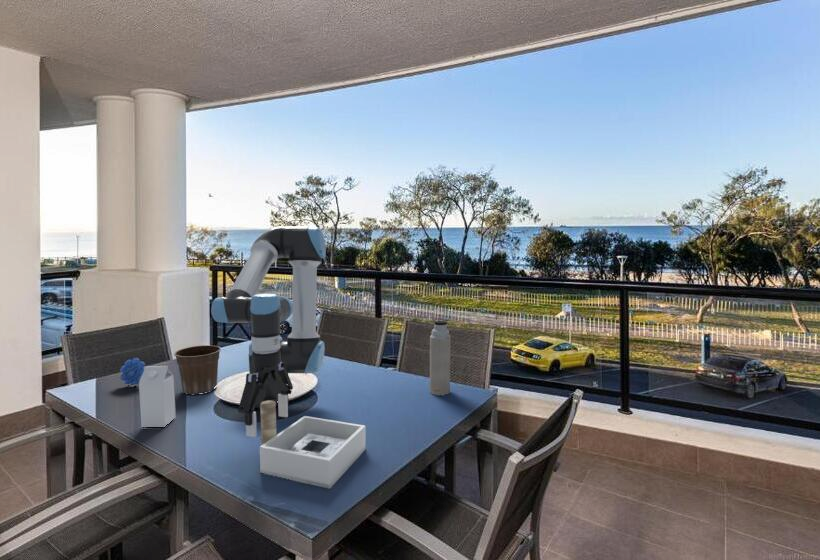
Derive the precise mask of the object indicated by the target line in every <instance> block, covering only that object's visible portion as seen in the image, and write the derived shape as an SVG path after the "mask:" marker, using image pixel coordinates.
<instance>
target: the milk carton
mask: <svg viewBox="0 0 820 560" xmlns="http://www.w3.org/2000/svg"><path fill="white" fill-rule="evenodd" d="M174 377H175V376H174V374H173V373H172V372H171V370H169V366H168V365H153V366H151V365H150V366H149V365H148V366H146V365H145V366H144V372H143V374H142V376H141V379H140V381H139V384H138V386H139V387H138V388H139V389H138V390H139V404H140V405H139V406H140V424H141V428H142V427H165V426H166V425H167V424H169V423H170V422H171V421H172V420H173V419H174V418H175V419H176V400H175V399H176V398H175V395H176V394H175V382H174V381H175V378H174ZM175 419H174V420H175ZM174 420H173V421H174ZM173 421H172V422H173ZM172 422H171V423H172ZM171 423H170V424H171ZM170 424H169V425H170ZM167 426H168V425H167ZM167 426H166V427H167ZM166 427H165V428H166Z"/></svg>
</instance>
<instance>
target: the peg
mask: <svg viewBox="0 0 820 560" xmlns="http://www.w3.org/2000/svg"><path fill="white" fill-rule="evenodd" d="M276 407H277V406H276V402H275V401H272V400H269V401H264V402H262V403H261V404H260V408H259V409H260V430H261V431H260V434H261V435H260V436H261V446H262V445H263V444H265V443H266V442H267V441H269V440H270V439H272V438H273V437H275V436H276V435H277V411H276V409H277V408H276Z"/></svg>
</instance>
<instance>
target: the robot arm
mask: <svg viewBox="0 0 820 560" xmlns="http://www.w3.org/2000/svg"><path fill="white" fill-rule="evenodd" d="M326 253H327V248H326V241H325V235H324V232H323V231H322V229H321V228H320V227H318V226H309V225H307V226H305V225H304V226H302V225H301V226H285V225H284V226H277V227H273V228H271V229H268V230H267V231H265V232H264V233H262V234H260V236H258V237H257V238H256V240H255V241H254V242H253V244H252V245H251V247H250V255H249V256H248V258H247V260H246V262H245V263H244V265H243V267H242V268H241V271H240V272H239V275H238V276H237V277H236V280H235V281H234V283H233V285H232V286H231V289H230V290H229V292H228V293H227V295H226V297H225V296H221V297H216V298H215V299H214V300H212V304H211V308H210V309H211V310H210V311H211V316H212V318H213V320H214V321H215V322H216V323H217V322H218V323H223V324H224V323H226V324H236V323H238V324H241V323H244V324H245V323H247V324H250V326H251V327H250V328H251V330H250V332H251V336H250V337H251V343H250V344H249V345H248V354H247V357H248V368H249V369H248V370H249V371H248V373H247V374H246V376H245V384H244V387H243V392H242V393H241V399H240V401H239V406H238V409H237V412H238V413H239V414H244V425H245V436H246V437H252V438H257V435H258V433H257V432H258V431H257V412H256V411H255V410H256V409H261V408H260V404H261V403H262V402H264V401H269V400H272V401H275V402H276V407H277V406H278V407H277V408H278V409H277V410H278V417H282V418H288V417H289V409H288V408H289V406H288V405H289V395H291V394H292V390H293V388H294V385H293V384H292V381H291V378H290V374H305V375H308V374H316V373H318V372H319V371H320V369H321V368H322V364H323V361H324V357H325V349H326V348H325V342H324V341H322V340H321V335H319V333H317V331H316V330H317V285H318V284H317V280H318V279H317V274H318V272H317V269H318V266H320V265H321V263H322V259H324V258H325V257H326ZM282 258H283V259H286V258H287V259H288V263H289V264H290V265H291V267H292V297H291V298H292V300H291V299H290V298H288V297H287V296H284V295H278V294H276V293H258V292H259V290H260V288H261V286H262V284H263V281H264V279H265V278H266V276H267V274H268V271H269V270H270V268H271V267H272V264H274V263H276V261H277V260H278V259H282ZM289 318H291V332H290V333H289V334H288V335H287V338H286V339H287V340H283V337H282V336H281V323H283V322H284V321H286V320H288V319H289ZM277 401H278V403H277Z"/></svg>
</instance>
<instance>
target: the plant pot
mask: <svg viewBox="0 0 820 560" xmlns="http://www.w3.org/2000/svg"><path fill="white" fill-rule="evenodd" d="M221 350H222V348H221V347H220V346H218V345H212V344H211V345H207V344H206V345H205V344H204V345H203V344H202V345H194V346H188V347H184V348H180V349H178V350H176V351H175V352H174V356H175V359H176V364H177V365H178V369H179V370H178V371H179V376H180V382H181V389H182V393H183V392H184V393H187V394H195V395H200V394H199V393H205V392H209V391H212V390H213V389H214V387H215V386H216V385H217V386H218V376H219V375H218V374H219V373H218V370H219V359H220V351H221ZM212 392H213V391H212ZM184 393H183V394H184ZM209 393H210V392H209Z"/></svg>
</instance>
